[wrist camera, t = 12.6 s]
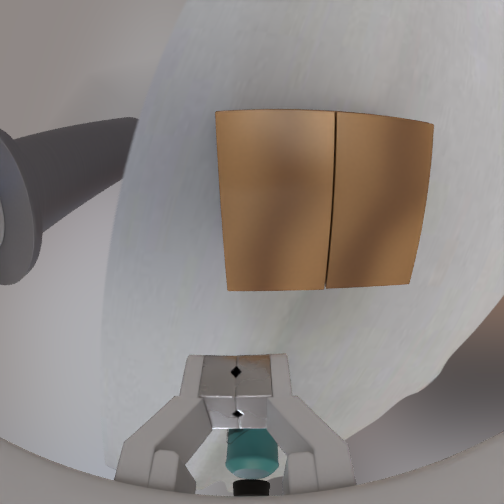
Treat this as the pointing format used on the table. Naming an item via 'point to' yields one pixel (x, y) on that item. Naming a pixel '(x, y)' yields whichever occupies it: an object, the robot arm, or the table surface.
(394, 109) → the table surface
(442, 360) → the table surface
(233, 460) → the beverage bottle
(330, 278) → the carton
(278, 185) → the flap
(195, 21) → the table surface
